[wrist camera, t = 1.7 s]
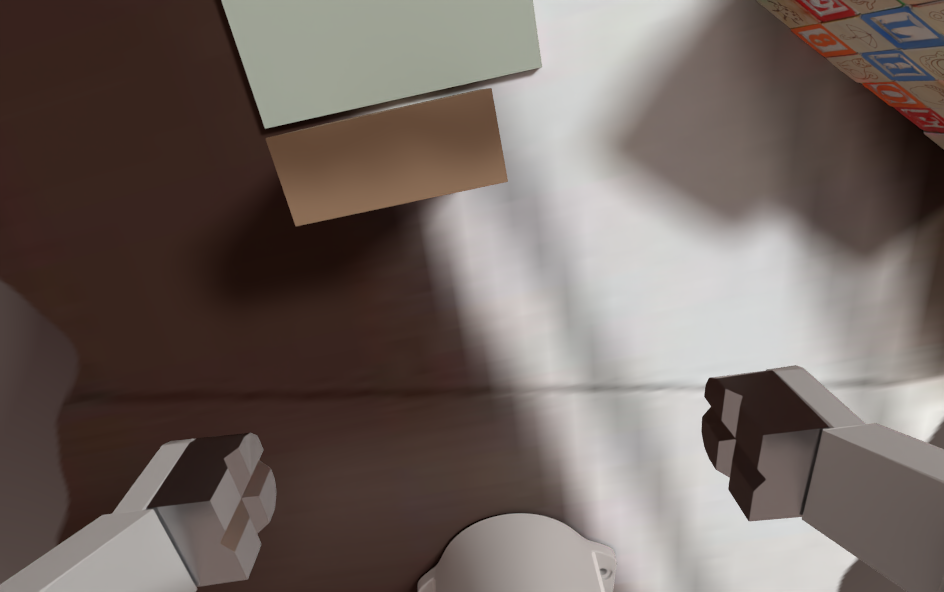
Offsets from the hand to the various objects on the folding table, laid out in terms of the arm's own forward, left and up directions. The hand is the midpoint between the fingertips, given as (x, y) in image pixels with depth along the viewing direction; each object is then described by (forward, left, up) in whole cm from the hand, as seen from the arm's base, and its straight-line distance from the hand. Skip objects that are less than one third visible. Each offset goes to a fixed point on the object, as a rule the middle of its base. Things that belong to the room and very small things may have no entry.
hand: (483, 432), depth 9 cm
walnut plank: (+4, +3, -28) cm, 28 cm away
